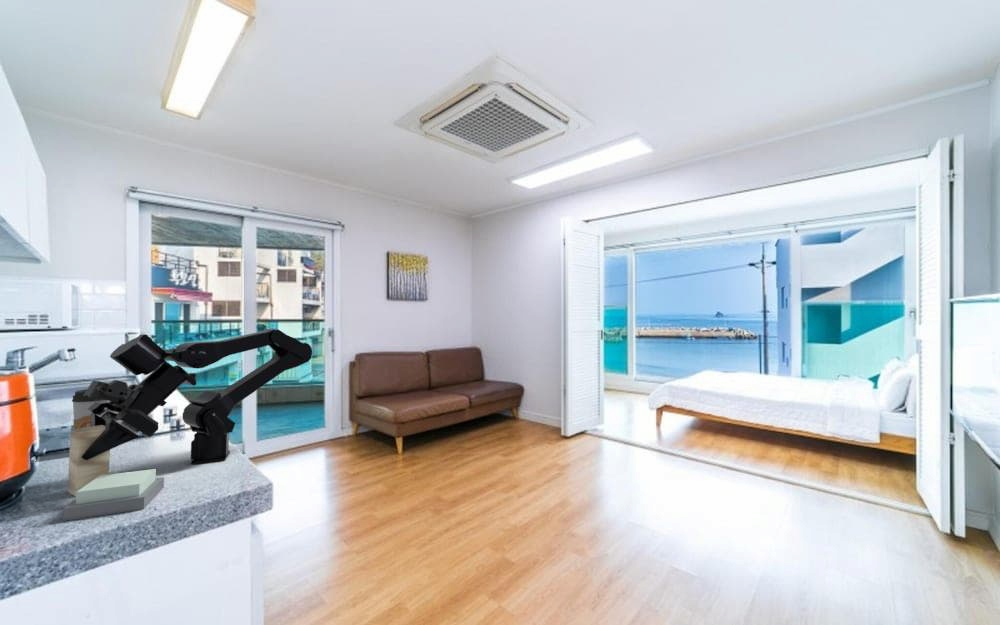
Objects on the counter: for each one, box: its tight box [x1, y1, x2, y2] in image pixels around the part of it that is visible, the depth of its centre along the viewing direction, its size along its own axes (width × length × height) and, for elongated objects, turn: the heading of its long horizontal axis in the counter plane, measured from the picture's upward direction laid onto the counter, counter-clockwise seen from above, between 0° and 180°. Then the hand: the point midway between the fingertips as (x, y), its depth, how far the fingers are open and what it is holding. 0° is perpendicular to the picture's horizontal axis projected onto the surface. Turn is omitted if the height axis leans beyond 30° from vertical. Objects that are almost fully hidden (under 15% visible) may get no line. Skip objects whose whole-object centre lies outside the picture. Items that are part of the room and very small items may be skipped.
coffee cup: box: [71, 388, 110, 429], centre depth 100 cm, size 8×8×15 cm
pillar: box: [67, 425, 111, 497], centre depth 76 cm, size 4×4×12 cm
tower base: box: [63, 468, 165, 522], centre depth 70 cm, size 10×10×4 cm
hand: (79, 456), depth 75 cm, fingers closed on pillar, 4 cm apart
